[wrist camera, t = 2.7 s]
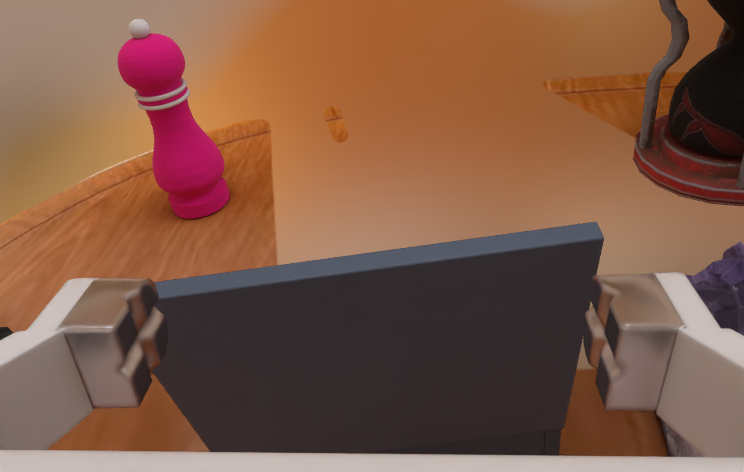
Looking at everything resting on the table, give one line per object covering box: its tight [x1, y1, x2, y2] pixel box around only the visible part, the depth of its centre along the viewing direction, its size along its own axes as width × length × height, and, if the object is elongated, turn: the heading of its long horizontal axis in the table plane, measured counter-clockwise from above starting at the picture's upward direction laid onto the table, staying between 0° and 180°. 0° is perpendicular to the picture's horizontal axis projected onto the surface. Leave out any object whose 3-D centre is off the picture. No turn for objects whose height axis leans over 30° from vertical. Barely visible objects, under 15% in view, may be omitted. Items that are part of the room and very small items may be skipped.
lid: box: [152, 222, 604, 454], centre depth 25 cm, size 13×17×1 cm
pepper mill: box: [118, 19, 230, 219], centre depth 62 cm, size 7×7×20 cm
